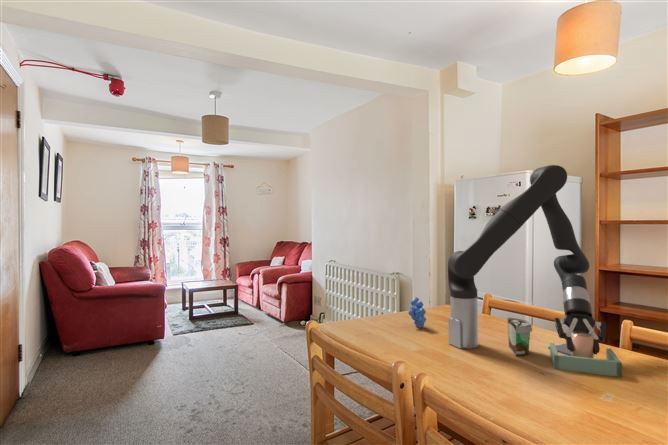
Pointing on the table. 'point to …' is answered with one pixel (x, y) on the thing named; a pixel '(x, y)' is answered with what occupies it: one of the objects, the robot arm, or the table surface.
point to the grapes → (417, 312)
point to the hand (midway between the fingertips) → (583, 351)
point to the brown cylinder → (582, 344)
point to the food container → (519, 336)
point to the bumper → (587, 363)
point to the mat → (563, 349)
